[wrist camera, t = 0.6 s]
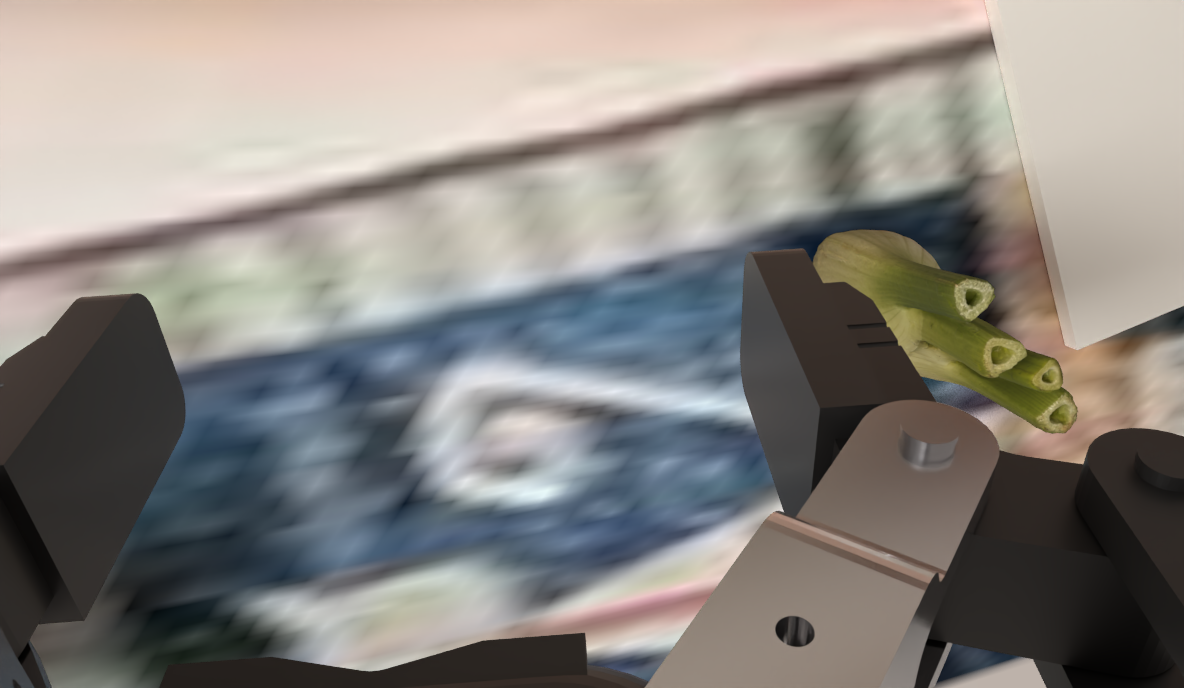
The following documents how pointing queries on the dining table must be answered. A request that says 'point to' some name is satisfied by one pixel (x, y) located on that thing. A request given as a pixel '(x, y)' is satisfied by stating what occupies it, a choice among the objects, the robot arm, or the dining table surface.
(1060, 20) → the gauge board
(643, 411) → the dining table surface
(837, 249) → the fennel bulb
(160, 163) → the dining table surface
